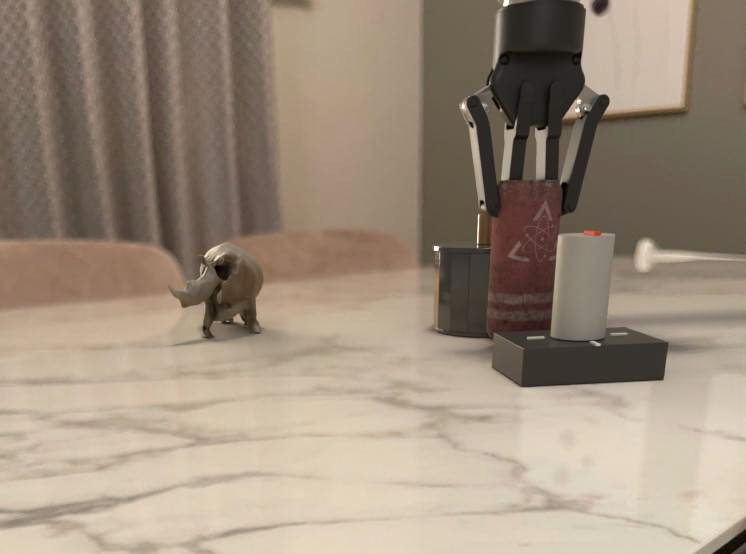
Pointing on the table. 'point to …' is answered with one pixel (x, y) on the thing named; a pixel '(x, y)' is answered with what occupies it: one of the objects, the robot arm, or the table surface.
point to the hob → (578, 357)
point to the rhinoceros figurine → (225, 287)
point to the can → (523, 256)
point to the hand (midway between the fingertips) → (521, 295)
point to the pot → (461, 293)
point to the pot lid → (471, 246)
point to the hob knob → (582, 285)
